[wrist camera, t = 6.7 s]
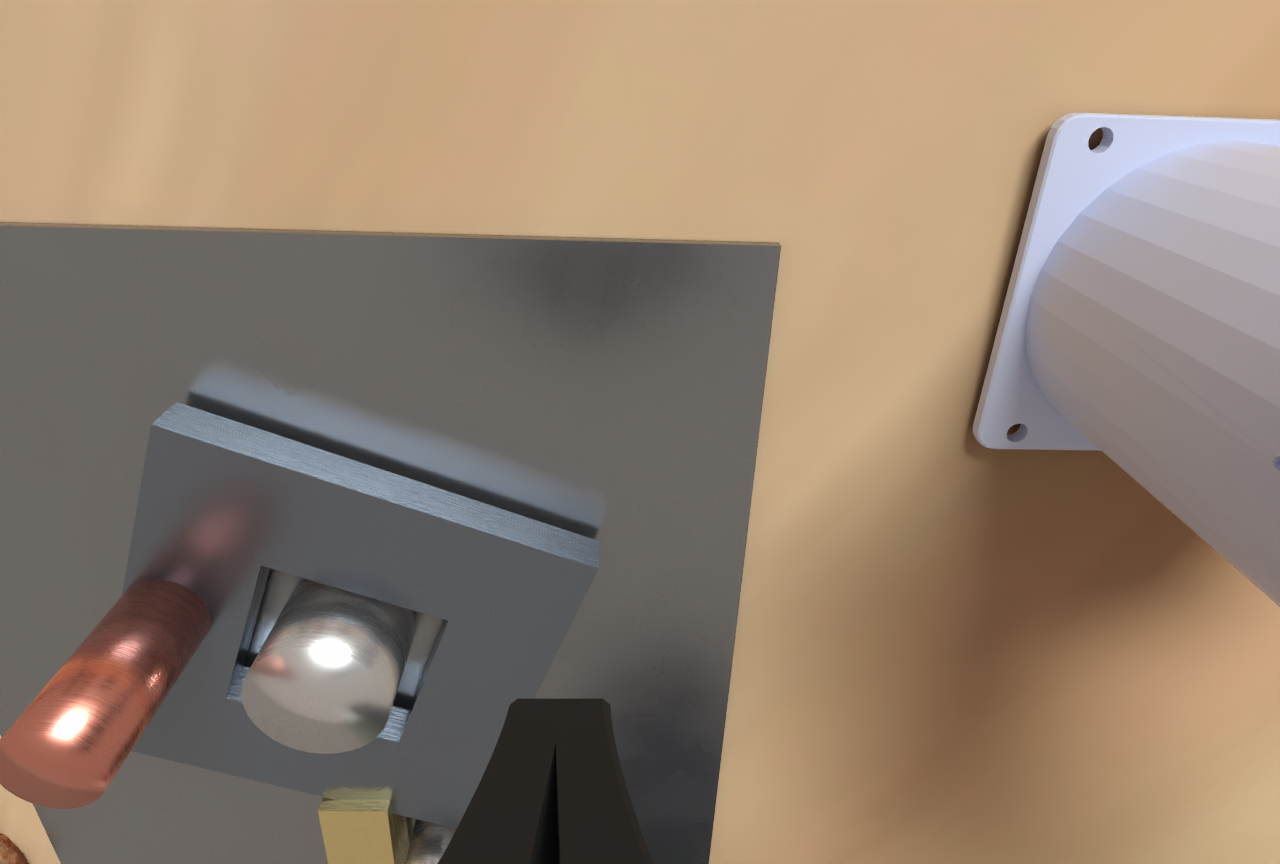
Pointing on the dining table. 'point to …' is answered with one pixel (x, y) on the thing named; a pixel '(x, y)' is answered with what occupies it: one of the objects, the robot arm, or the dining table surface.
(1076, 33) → the dining table surface
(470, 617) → the metal parts fixture
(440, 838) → the dowel pin
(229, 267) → the post base
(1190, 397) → the robot arm
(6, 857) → the cookie
